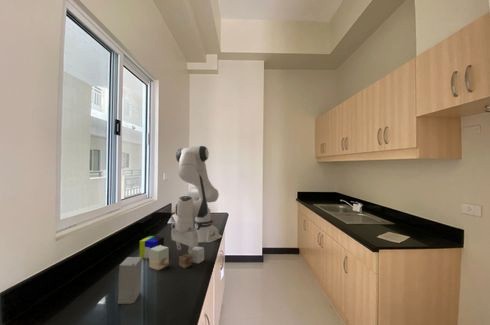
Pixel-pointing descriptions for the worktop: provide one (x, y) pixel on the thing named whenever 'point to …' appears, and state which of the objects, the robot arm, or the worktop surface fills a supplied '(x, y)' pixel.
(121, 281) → the skincare box
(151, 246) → the puzzle toy
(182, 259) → the walnut block
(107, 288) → the worktop surface
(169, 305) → the worktop surface
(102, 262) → the worktop surface
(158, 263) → the tower base
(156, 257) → the block
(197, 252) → the skincare box
